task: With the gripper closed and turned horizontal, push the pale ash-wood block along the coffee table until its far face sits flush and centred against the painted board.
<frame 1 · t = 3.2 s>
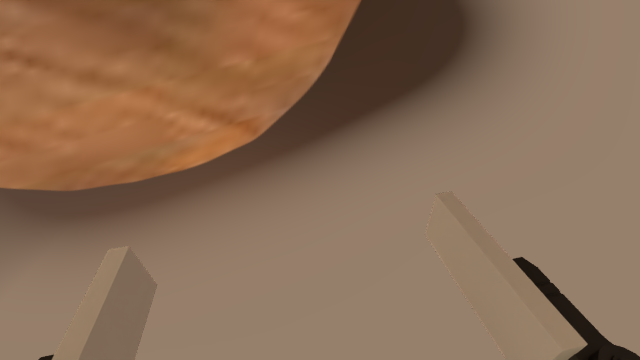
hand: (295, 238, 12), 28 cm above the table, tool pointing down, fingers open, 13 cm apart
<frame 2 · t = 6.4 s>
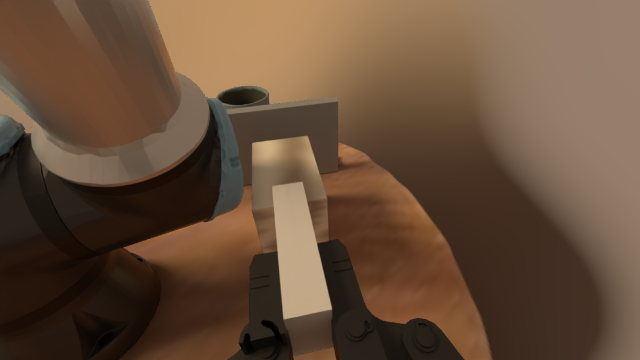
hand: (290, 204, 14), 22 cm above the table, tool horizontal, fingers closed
stop board: (285, 175, 53), on the table
green cup: (254, 147, 62), on the table
ash block: (294, 231, 42), on the table
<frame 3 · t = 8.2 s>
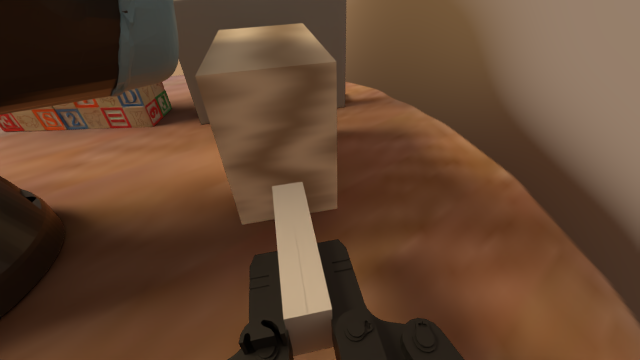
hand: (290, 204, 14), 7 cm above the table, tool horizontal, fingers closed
stack of blocks: (93, 121, 41), on the table
stop board: (274, 112, 39), on the table
ash block: (283, 169, 29), on the table
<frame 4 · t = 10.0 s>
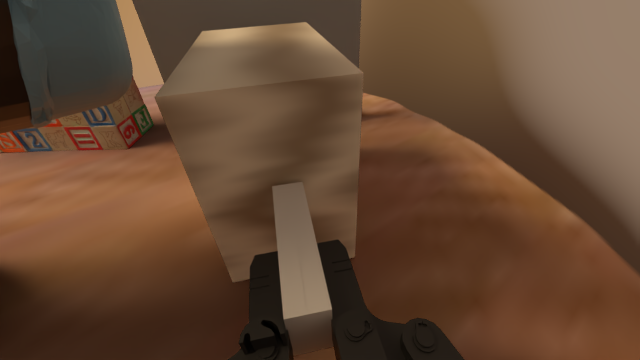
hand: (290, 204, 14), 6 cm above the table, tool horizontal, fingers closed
stack of blocks: (61, 140, 35), on the table
stop board: (275, 129, 34), on the table
ash block: (284, 199, 24), on the table, touching gripper
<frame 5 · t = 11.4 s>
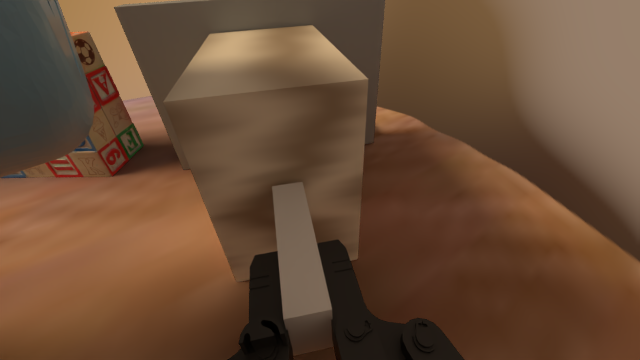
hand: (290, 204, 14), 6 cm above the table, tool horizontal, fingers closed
stack of blocks: (40, 164, 31), on the table
stop board: (281, 150, 30), on the table
ash block: (288, 201, 24), on the table
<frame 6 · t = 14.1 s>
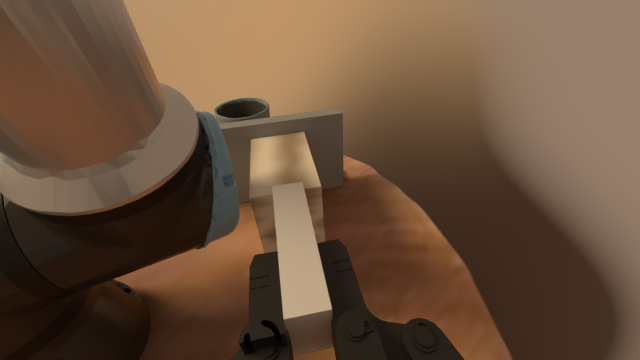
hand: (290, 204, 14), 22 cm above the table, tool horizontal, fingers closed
stop board: (287, 191, 50), on the table
green cup: (254, 161, 59), on the table
ash block: (292, 224, 43), on the table
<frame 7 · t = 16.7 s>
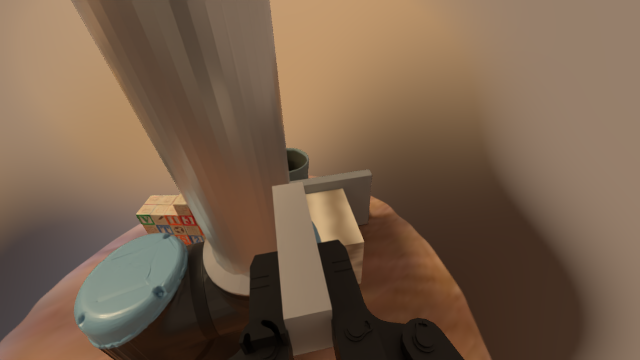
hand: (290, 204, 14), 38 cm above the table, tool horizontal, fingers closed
stack of blocks: (204, 235, 64), on the table
stop board: (324, 228, 64), on the table
green cup: (292, 197, 73), on the table
ash block: (332, 257, 57), on the table
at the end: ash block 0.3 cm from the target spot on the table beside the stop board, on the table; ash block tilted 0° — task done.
